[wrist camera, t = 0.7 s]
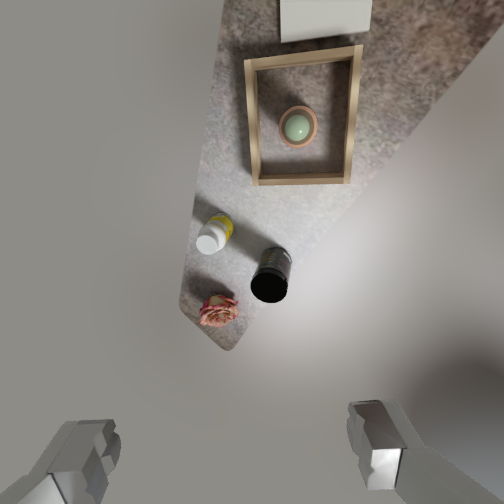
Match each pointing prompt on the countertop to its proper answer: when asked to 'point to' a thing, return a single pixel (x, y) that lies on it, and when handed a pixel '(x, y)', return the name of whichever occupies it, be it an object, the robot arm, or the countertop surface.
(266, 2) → the countertop surface
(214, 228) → the supplement bottle
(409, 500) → the robot arm
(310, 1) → the paving tile
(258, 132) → the brown wooden rectangular frame
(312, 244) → the countertop surface
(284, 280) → the supplement container
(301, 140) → the peach bottle
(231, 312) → the flower
